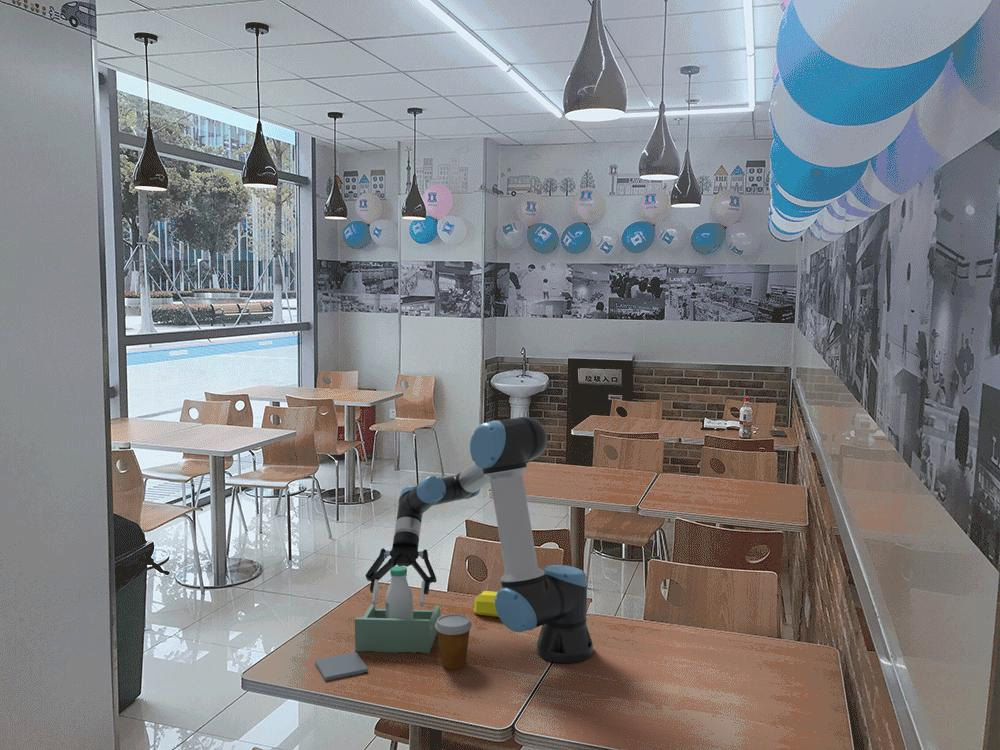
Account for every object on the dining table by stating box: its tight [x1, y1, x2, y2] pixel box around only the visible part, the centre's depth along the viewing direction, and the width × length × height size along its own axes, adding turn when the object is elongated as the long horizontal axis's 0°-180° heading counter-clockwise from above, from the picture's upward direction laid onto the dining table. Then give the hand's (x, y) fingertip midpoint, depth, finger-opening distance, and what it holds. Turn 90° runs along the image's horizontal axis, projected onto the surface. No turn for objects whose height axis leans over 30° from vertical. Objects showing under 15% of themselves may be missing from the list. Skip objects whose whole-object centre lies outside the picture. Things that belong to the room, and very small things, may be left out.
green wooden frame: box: [354, 603, 442, 654], centre depth 235 cm, size 20×20×9 cm
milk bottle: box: [385, 565, 414, 619], centre depth 234 cm, size 8×8×20 cm
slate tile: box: [314, 651, 369, 682], centre depth 216 cm, size 11×11×1 cm
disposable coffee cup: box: [435, 613, 472, 670], centre depth 217 cm, size 10×10×12 cm
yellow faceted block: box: [472, 590, 499, 618], centre depth 251 cm, size 18×7×8 cm
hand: (397, 604), depth 233 cm, fingers open, 13 cm apart
